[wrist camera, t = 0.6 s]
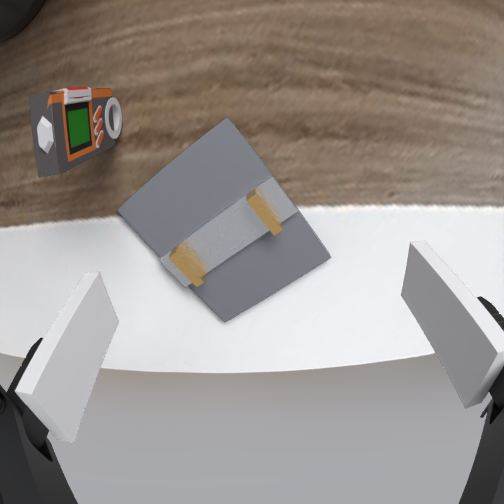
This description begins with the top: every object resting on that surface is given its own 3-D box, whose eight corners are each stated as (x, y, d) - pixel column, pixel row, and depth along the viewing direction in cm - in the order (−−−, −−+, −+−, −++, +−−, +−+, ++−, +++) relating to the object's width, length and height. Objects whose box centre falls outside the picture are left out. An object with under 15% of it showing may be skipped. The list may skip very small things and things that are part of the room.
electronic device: (126, 141, 34) (61, 175, 21) (103, 144, 34) (32, 179, 21) (122, 85, 31) (52, 88, 18) (99, 89, 31) (22, 97, 17)
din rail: (160, 256, 40) (154, 268, 37) (271, 174, 35) (273, 181, 33) (186, 283, 42) (182, 296, 39) (296, 208, 37) (300, 218, 35)
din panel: (120, 206, 38) (116, 210, 37) (227, 116, 33) (227, 117, 32) (225, 316, 46) (225, 322, 45) (329, 253, 41) (331, 257, 40)
